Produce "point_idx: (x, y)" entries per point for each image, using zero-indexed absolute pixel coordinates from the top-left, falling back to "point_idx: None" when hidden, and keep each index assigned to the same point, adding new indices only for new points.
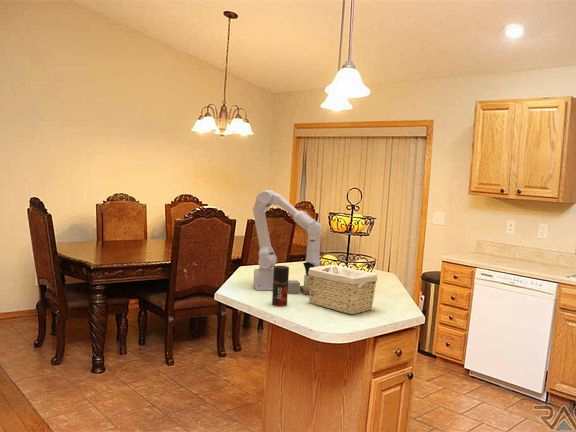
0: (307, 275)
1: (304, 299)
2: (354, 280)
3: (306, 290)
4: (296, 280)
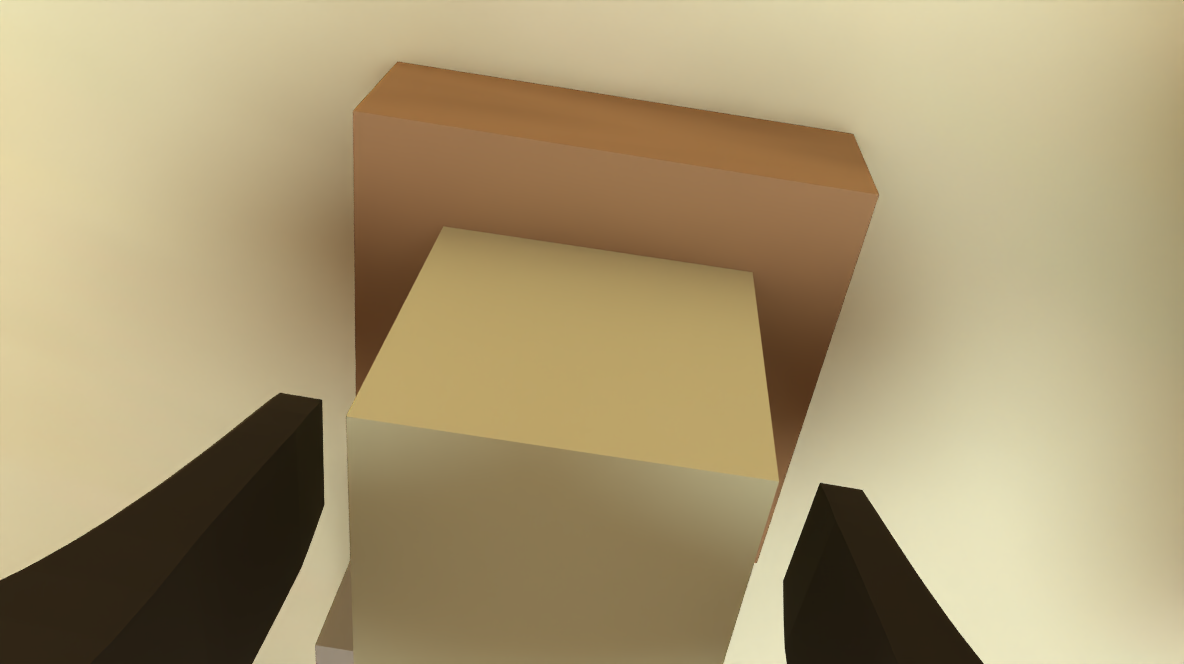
0: (392, 638)
1: (988, 575)
2: None
3: (764, 530)
4: (324, 657)
